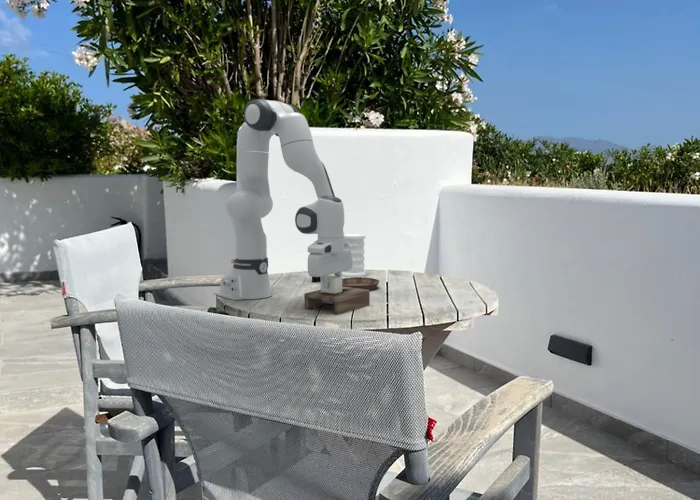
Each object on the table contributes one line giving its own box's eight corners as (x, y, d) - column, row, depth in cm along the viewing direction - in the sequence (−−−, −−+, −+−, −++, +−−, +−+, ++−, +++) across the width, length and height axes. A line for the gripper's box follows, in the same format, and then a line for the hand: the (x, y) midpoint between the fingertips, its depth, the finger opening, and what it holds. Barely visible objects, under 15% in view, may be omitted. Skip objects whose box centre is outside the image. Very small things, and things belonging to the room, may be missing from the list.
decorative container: (371, 276, 272) (371, 235, 269) (348, 278, 266) (348, 236, 264) (357, 272, 281) (357, 233, 279) (335, 274, 276) (335, 234, 274)
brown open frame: (304, 308, 205) (304, 293, 204) (336, 300, 219) (336, 285, 219) (338, 314, 197) (338, 298, 196) (369, 304, 211) (369, 289, 211)
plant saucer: (341, 293, 232) (341, 285, 232) (329, 285, 249) (329, 278, 249) (385, 291, 237) (385, 283, 237) (371, 283, 254) (371, 276, 254)
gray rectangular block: (320, 302, 205) (320, 276, 204) (328, 299, 209) (328, 275, 208) (334, 304, 201) (334, 278, 200) (342, 301, 205) (342, 276, 204)
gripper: (342, 242, 213) (342, 281, 215) (304, 247, 196) (304, 290, 198) (356, 243, 209) (356, 283, 211) (319, 249, 193) (319, 292, 194)
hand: (331, 286), depth 204 cm, fingers closed on gray rectangular block, 4 cm apart
